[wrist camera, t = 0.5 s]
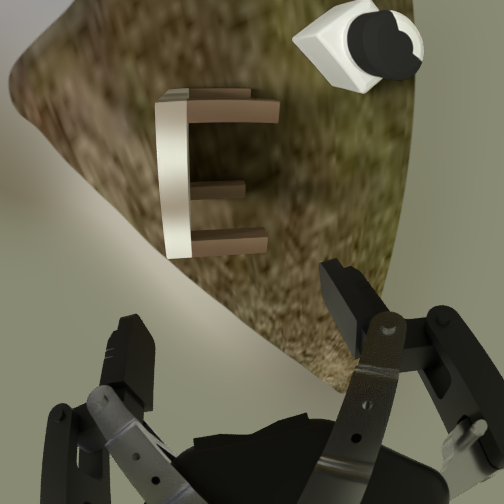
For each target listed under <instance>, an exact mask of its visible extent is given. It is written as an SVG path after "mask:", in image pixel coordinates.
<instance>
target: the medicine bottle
mask: <svg viewBox="0 0 504 504" xmlns="http://www.w3.org/2000/svg"><path fill="white" fill-rule="evenodd" d="M292 41H293V42H294V43H295V44H296V45H297V46H298V48H299V49H300V50H301V51H302V52H303V53H304V54H305V55H306V56H307V57H308V58H309V60H310V61H311V62H312V63H313V64H314V65H315V66H316V68H317V69H318V70H319V71H320V72H321V73H322V75H323V76H324V77H325V78H326V79H327V80H328V82H329V83H330V84H331V85H332V86H335V87H339V88H343V89H347V90H351V91H355V92H359V93H363V94H364V93H366V92H367V91H369V90H370V89H371V88H372V87H373V86H374V85H376V84H377V83H378V82H379V81H380V80H381V79H383V78H386V79H391V80H397V81H399V80H406V79H408V78H410V77H412V76H413V75H414V74H415V73H416V72H417V71H418V70H419V68H420V66H421V64H422V61H423V56H424V47H423V41H422V38H421V35H420V33H419V31H418V30H417V28H416V27H415V25H414V24H413V23H412V22H411V21H410V20H409V19H408V18H407V17H406V16H404V15H402V14H401V13H398V12H396V11H391V10H382V11H379V10H378V8H377V7H376V6H375V4H374V3H373V2H372V1H371V0H356V1H352V2H348V3H344V4H341V5H337V6H334V7H333V8H332V9H330V10H329V11H327V12H326V13H325V14H323V15H322V16H320V17H319V18H318V19H316V20H315V21H314V22H312V23H311V24H310V25H308V26H307V27H306V28H304V29H303V30H302V31H301V32H299V33H298V34H297V35H295V36H294V37H293V38H292Z"/></svg>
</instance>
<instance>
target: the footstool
mask: <svg viewBox="0 0 504 504" xmlns="http://www.w3.org/2000/svg"><path fill="white" fill-rule="evenodd" d="M279 109H280V102H279V101H277V100H275V99H262V98H251V89H250V88H223V87H218V88H181V89H169V90H168V91H167V92H166V93H165V94H164V95H163V96H161V97H160V98H159V99H158V100H157V101H156V102H155V120H156V144H157V161H158V176H159V188H160V200H161V210H162V220H163V229H164V238H165V246H166V254H167V259H172V258H188V257H205V256H221V255H237V254H253V253H266V251H267V241H268V236H267V234H266V232H265V229H264V227H261V228H240V229H220V230H202V231H191V205H190V200H203V199H225V198H245V190H246V185H245V182H244V180H233V181H205V182H190V169H189V123H204V122H261V123H278V121H279Z"/></svg>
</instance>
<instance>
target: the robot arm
mask: <svg viewBox="0 0 504 504" xmlns="http://www.w3.org/2000/svg"><path fill="white" fill-rule="evenodd" d="M319 272H320V282H321V291H322V296H323V299H324V302H325V304H326V306H327V308H328V310H329V312H330V313H331V315H332V317H333V319H334V321H335V323H336V325H337V327H338V329H339V330H340V332H341V334H342V336H343V338H344V340H345V342H346V344H347V346H348V348H349V350H350V352H351V354H352V356H353V358H354V359H355V360H356V359H358V358H360V360H359V363H358V366H356V367H355V369H354V372H353V375H352V378H351V381H350V384H349V386H348V389H347V392H346V395H345V398H344V401H343V403H342V406H341V409H340V411H339V414H338V417H337V419H336V422H335V421H331V420H326V419H309V418H308V415H307V413H303V414H300V415H296V416H293V417H290V418H286V419H282V420H279V421H277V422H275V423H273V424H271V425H269V426H267V427H265V428H263V429H261V430H259V431H257V432H255V433H253V434H249V435H236V434H235V435H234V434H217V435H212V436H206V437H199V438H194V439H193V440H194V446H192V447H191V448H189V449H187V450H185V451H184V452H182V453H181V454H180V455H179V456H178V455H177V454H176V453H175V452H174V451H173V450H172V449H171V448H170V447H169V446H168V445H167V444H166V443H165V442H164V441H163V440H162V439H161V438H160V436H159V435H158V434H157V433H156V432H155V431H154V430H153V429H152V427H151V426H150V425H149V424H148V423H147V421H146V420H145V419H144V417H143V416H144V412H148V411H153V387H154V366H155V343H154V340H153V338H152V336H151V334H150V333H149V331H148V329H147V328H146V326H145V325H144V323H143V321H142V320H141V319H140V317H139V315H137V314H132V315H129V316H125V317H121V318H120V320H119V325H118V330H116V331H113V333H112V335H111V337H110V338H109V340H108V343H107V348H106V352H105V359H104V363H103V368H102V373H101V379H100V384H99V386H98V387H96V388H95V389H93V390H92V391H91V393H90V394H89V396H88V398H87V402H86V403H84V404H82V405H80V406H78V407H76V408H73V409H72V408H71V407H70V406H69V405H67V404H65V403H61V404H58V405H56V406H55V407H54V408H53V409H52V410H51V411H50V413H49V417H48V422H47V428H46V436H45V443H44V452H43V462H42V475H41V495H40V498H41V499H40V504H111V494H110V465H109V453H110V455H111V456H112V457H113V459H114V460H115V462H116V463H117V465H118V466H119V468H120V469H121V470H122V472H123V473H124V475H125V476H126V477H127V479H128V480H129V481H130V483H131V484H132V485H133V487H134V488H135V489H136V490H137V492H138V493H139V494H140V495H141V497H142V498H143V499H144V500H145V503H144V504H449V501H450V500H452V499H453V498H455V497H457V496H459V495H460V494H462V493H464V492H465V491H467V490H469V489H470V488H472V487H473V486H475V485H477V484H478V483H480V482H484V481H486V480H487V479H489V478H491V477H493V476H495V475H496V474H498V473H500V472H501V471H503V470H504V380H503V378H502V376H501V375H500V373H499V371H498V370H497V368H496V367H495V365H494V364H493V362H492V361H491V359H490V358H489V356H488V354H487V353H486V351H485V350H484V349H483V347H482V346H481V344H480V343H479V342H478V340H477V338H476V337H475V336H474V334H473V333H472V332H471V330H470V329H469V327H468V326H467V325H466V323H465V322H464V321H463V319H462V318H461V317H460V315H459V314H458V313H457V311H455V310H454V309H453V308H451V307H449V306H444V305H439V306H435V307H433V308H432V309H430V310H429V312H428V314H427V317H425V318H415V319H404V318H403V317H402V316H401V315H399V314H398V313H395V312H390V311H389V310H388V308H387V307H386V305H385V304H384V303H383V301H382V300H381V298H380V297H379V296H378V294H377V293H376V292H375V290H374V289H373V288H372V287H371V285H370V284H369V282H368V281H367V280H366V278H365V277H364V276H363V274H362V273H361V272H360V271H359V270H357V269H355V268H353V267H352V266H349V267H346V268H343V266H342V265H341V263H340V262H339V261H338V259H337V258H334V259H331V260H328V261H325V262H321V263H319ZM416 370H417V371H418V373H419V375H420V377H421V379H422V381H423V383H424V385H425V386H426V389H427V390H428V392H429V394H430V396H431V398H432V400H433V402H434V404H435V406H436V409H437V411H438V413H439V414H440V417H441V419H442V421H443V423H444V425H445V427H446V429H447V432H448V434H449V435H448V436H447V437H446V438H445V440H444V442H443V445H442V455H443V466H442V469H441V471H440V472H438V471H436V470H435V469H433V468H432V467H429V466H427V465H424V464H422V463H420V462H418V461H416V460H413V459H411V458H409V457H407V456H405V455H402V454H400V453H398V452H396V451H394V450H392V449H390V448H388V447H385V446H383V445H382V444H381V443H382V440H383V437H384V433H385V430H386V427H387V423H388V419H389V416H390V412H391V408H392V404H393V400H394V396H395V392H396V388H397V383H398V378H399V373H400V372H408V371H416ZM77 447H79V468H78V466H77V462H76V460H77Z"/></svg>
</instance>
